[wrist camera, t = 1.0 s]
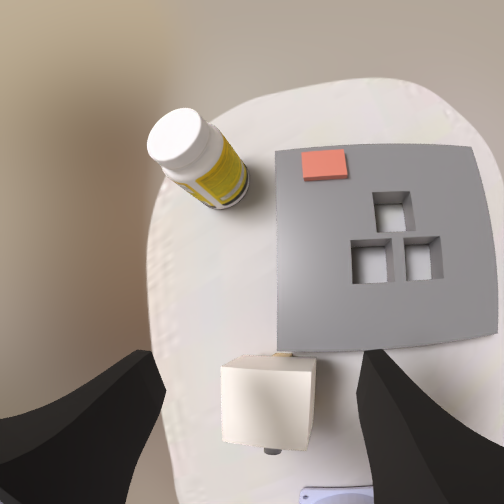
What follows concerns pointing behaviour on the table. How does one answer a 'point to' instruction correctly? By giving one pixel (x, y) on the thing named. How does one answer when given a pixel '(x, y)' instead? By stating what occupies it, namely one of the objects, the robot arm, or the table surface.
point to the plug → (268, 401)
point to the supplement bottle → (198, 158)
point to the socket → (365, 235)
